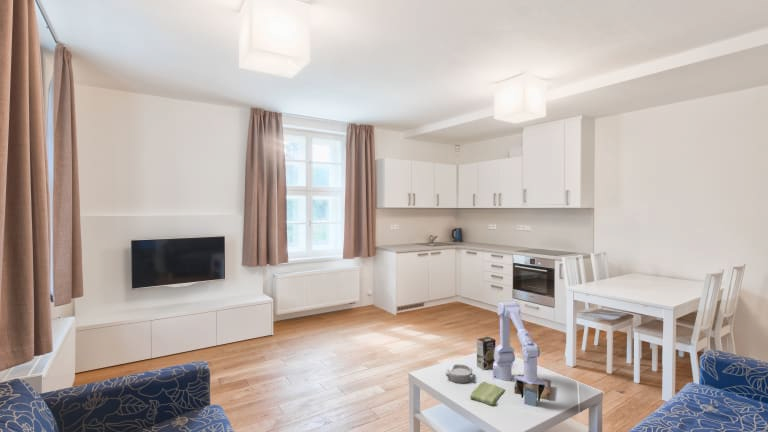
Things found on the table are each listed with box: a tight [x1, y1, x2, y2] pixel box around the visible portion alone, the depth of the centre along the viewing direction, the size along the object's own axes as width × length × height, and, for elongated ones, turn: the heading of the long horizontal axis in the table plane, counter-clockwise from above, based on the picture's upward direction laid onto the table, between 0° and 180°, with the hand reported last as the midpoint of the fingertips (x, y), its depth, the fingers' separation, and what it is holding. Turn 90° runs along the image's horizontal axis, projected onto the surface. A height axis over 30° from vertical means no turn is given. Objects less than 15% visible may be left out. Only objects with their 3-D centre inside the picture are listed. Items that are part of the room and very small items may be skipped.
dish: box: [445, 363, 474, 384], centre depth 204 cm, size 14×14×5 cm
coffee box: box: [476, 336, 496, 371], centre depth 218 cm, size 9×6×16 cm
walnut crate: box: [514, 374, 552, 401], centre depth 188 cm, size 16×14×4 cm
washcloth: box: [469, 381, 506, 407], centre depth 186 cm, size 13×18×3 cm
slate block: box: [523, 387, 538, 407], centre depth 177 cm, size 5×5×7 cm
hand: (530, 398), depth 176 cm, fingers open, 7 cm apart
